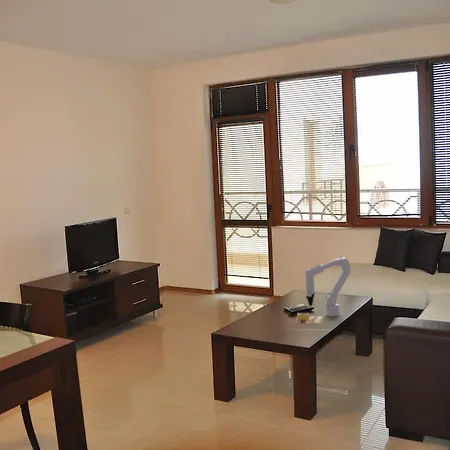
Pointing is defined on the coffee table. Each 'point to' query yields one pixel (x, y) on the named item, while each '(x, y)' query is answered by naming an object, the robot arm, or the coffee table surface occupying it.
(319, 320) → the subfloor
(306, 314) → the stud finder
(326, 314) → the robot arm
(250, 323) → the coffee table surface
